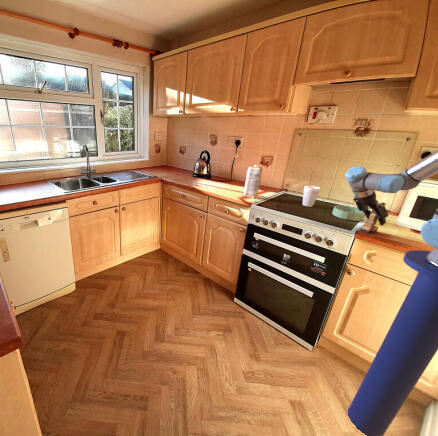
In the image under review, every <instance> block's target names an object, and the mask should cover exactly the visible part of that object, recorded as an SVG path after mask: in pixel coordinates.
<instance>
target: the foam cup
mask: <svg viewBox="0 0 438 436" xmlns="http://www.w3.org/2000/svg"><path fill="white" fill-rule="evenodd" d="M321 190H322V188H321V187H320V186H316V185H304V186H303V194H302V204H301V205H302V206H305V207H309V208H310V207H311V208H312V207H313V206H314V205H315V202H316V200H317V198H318V196H319V193H320V192H321Z"/></svg>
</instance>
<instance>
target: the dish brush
mask: <svg viewBox="0 0 438 436" xmlns="http://www.w3.org/2000/svg"><path fill="white" fill-rule="evenodd" d="M377 217H378V216H377V215H376V213H375V212H374V211H373V210H372V209H371V214H370V217H369V219H367V222H366V224H361V227H360V229H359V231H360V232H364V233H366V234H373V233H377V232H378V230H379V227H378V226H377V225H376V223H377V221H378V219H377Z"/></svg>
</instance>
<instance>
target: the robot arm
mask: <svg viewBox="0 0 438 436" xmlns="http://www.w3.org/2000/svg"><path fill="white" fill-rule="evenodd" d="M436 174H438V149H437V150H435V151H434V152H432V153H430V154H429V155H427V156H425V157H423V158H422V159H420V160H418V161H417V162H415V163H414V164H412V165H410V166H408V167H407V168H405V169H404V170H402V171H400V172H398V173H379V172H378V173H377V172H370V171H367V169H366V167H364V166H362V165H356V166H353V167H350V168H349V169H347V170H346V171H345V178H346V182H347V183H348V185H349V187H350V189H351V191H352V193H353V195H354V196H355V197H354V198H353V199H352V200H353V201H354V203H355V205H356V208H358V209H359V211H362V212H363V213H364V214H365V217H366V219H367V220H368V219H369V217H370V214H371V212H372V210H373V211H374V212H375V213H376V215H377V216H378V217H377V221H378V223H379V225H380V226H381V227H382V226H384V225H385V224H387V217H389V213H388V210H387V208H386V204H385V203H384V202H379V201H378V200H377V193H376V192H381V193H384V194H396V193H398V192H399V191H408V190H413V189H415V188H417V187H418V186H419V185H420V183H421V182H423V181H426V180H427V179H429V178H431V177H432V176H434V175H436ZM420 236H421V238H422V240H423V241H424V242H425V243H426V244H427V245H428V246H430V247H432V248H434V249H433V250H432V251H431V253H429V254H428V255H427V257H426V261H427V262H428V263H430V264H431V265H433V266H435V267H437V268H438V208H436V210H435V212H434V214H433V216H432V217H431V219H429V220H427V221H426V222H424V224H422V226H421V228H420Z"/></svg>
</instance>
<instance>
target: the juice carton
mask: <svg viewBox="0 0 438 436" xmlns="http://www.w3.org/2000/svg"><path fill="white" fill-rule="evenodd" d="M262 174H263V166H259V165H258V164H254V165H250V166H249V167H248V170H247V172H246V177H245V178H246V179H245V183H244V189H243V196H244V197H245V198H250V199H255V198H256V197H257V196H258V193H259V189H260V185H261V179H262Z"/></svg>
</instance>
